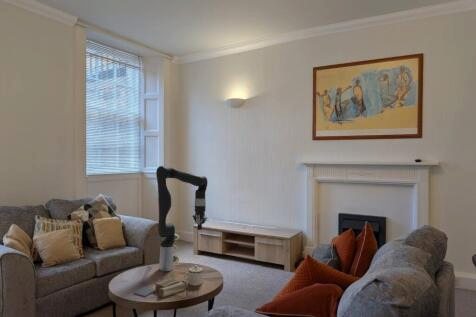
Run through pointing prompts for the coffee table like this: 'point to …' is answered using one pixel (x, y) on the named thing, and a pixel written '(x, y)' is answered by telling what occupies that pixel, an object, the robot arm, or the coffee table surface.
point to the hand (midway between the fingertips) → (199, 229)
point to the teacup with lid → (195, 276)
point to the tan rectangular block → (165, 283)
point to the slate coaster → (144, 292)
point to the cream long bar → (172, 289)
